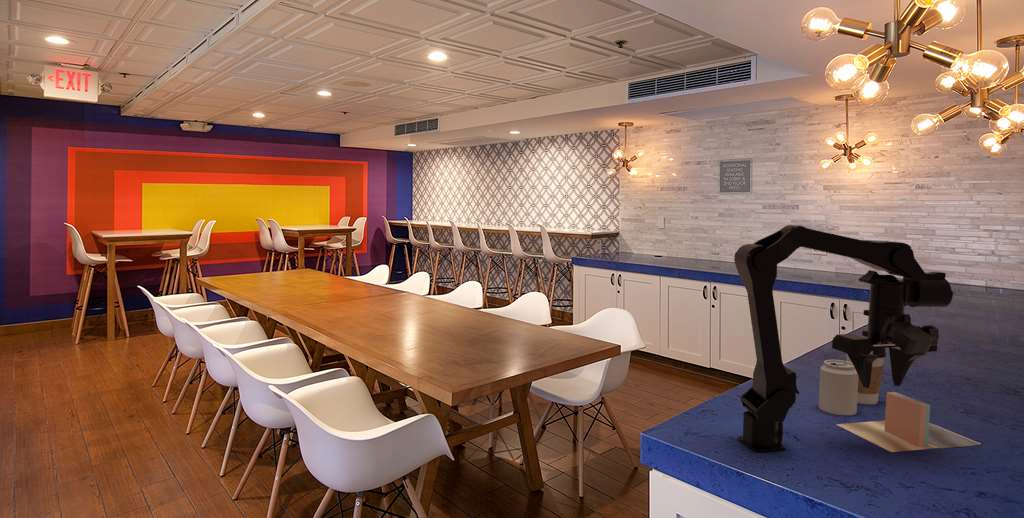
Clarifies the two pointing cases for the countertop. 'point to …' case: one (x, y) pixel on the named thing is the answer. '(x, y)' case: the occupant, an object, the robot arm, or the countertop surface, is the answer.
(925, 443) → the tile
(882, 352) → the coffee cup
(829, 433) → the countertop surface
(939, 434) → the board
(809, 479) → the countertop surface
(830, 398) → the can
